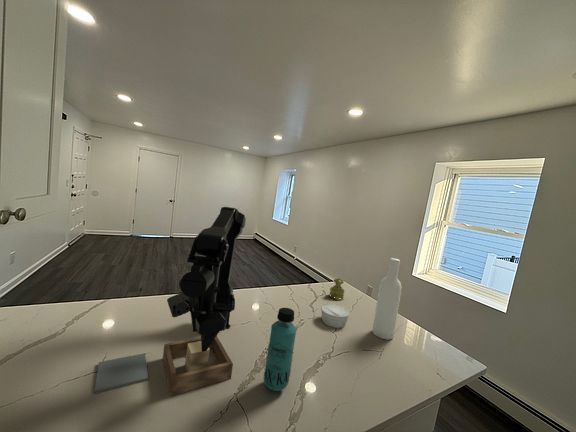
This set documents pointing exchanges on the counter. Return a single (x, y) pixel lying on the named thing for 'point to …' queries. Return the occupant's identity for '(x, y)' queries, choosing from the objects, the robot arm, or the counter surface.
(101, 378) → the pad
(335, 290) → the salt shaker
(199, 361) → the maple block
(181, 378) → the box
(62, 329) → the counter surface
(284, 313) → the beverage bottle
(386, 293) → the bottle
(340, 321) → the ramekin
